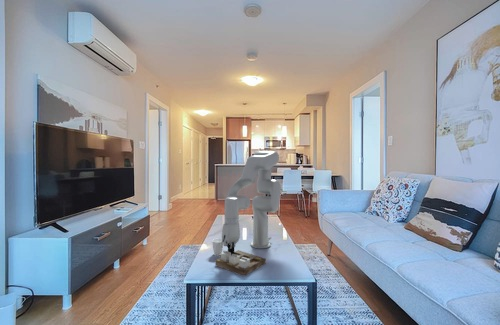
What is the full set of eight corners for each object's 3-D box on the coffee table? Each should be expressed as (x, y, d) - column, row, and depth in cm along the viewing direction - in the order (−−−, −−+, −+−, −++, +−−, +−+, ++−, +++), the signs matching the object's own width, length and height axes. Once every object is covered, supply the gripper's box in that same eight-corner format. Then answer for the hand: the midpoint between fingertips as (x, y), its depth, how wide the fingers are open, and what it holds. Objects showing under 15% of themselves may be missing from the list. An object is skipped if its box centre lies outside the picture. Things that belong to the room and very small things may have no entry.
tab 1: (226, 258, 132) (226, 249, 132) (230, 260, 130) (231, 250, 130) (220, 260, 129) (220, 251, 129) (225, 262, 127) (225, 253, 127)
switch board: (238, 254, 142) (238, 249, 142) (265, 263, 131) (265, 258, 130) (215, 265, 128) (215, 259, 128) (243, 276, 116) (243, 269, 116)
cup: (213, 251, 147) (213, 238, 147) (230, 252, 146) (230, 239, 145) (210, 256, 140) (210, 241, 140) (227, 257, 139) (227, 242, 139)
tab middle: (234, 261, 128) (234, 252, 128) (239, 263, 126) (239, 254, 126) (229, 264, 125) (229, 254, 125) (234, 266, 123) (234, 256, 123)
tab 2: (244, 265, 124) (244, 255, 124) (249, 267, 122) (249, 257, 122) (239, 268, 121) (239, 258, 121) (244, 270, 119) (244, 260, 119)
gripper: (235, 217, 141) (235, 249, 141) (216, 222, 129) (216, 257, 129) (245, 219, 136) (245, 252, 136) (227, 224, 125) (226, 260, 125)
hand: (231, 254), depth 133 cm, fingers closed
